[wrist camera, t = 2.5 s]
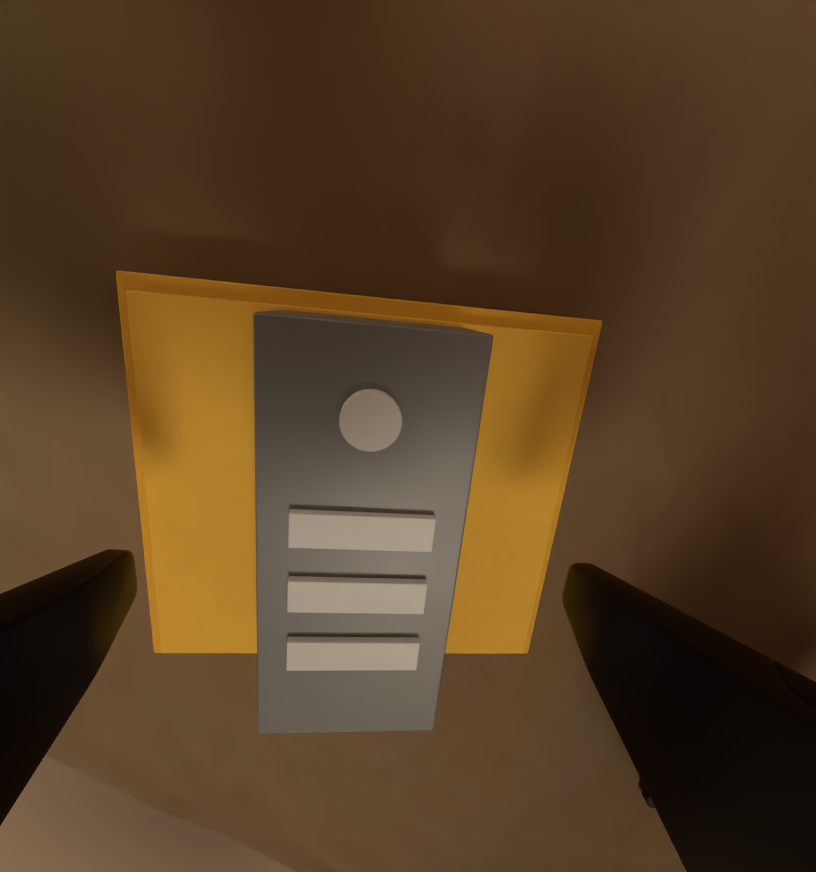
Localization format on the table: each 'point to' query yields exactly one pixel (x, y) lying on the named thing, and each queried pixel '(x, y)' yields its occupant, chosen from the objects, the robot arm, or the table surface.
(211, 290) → the cushion
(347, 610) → the remote
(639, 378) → the table surface
